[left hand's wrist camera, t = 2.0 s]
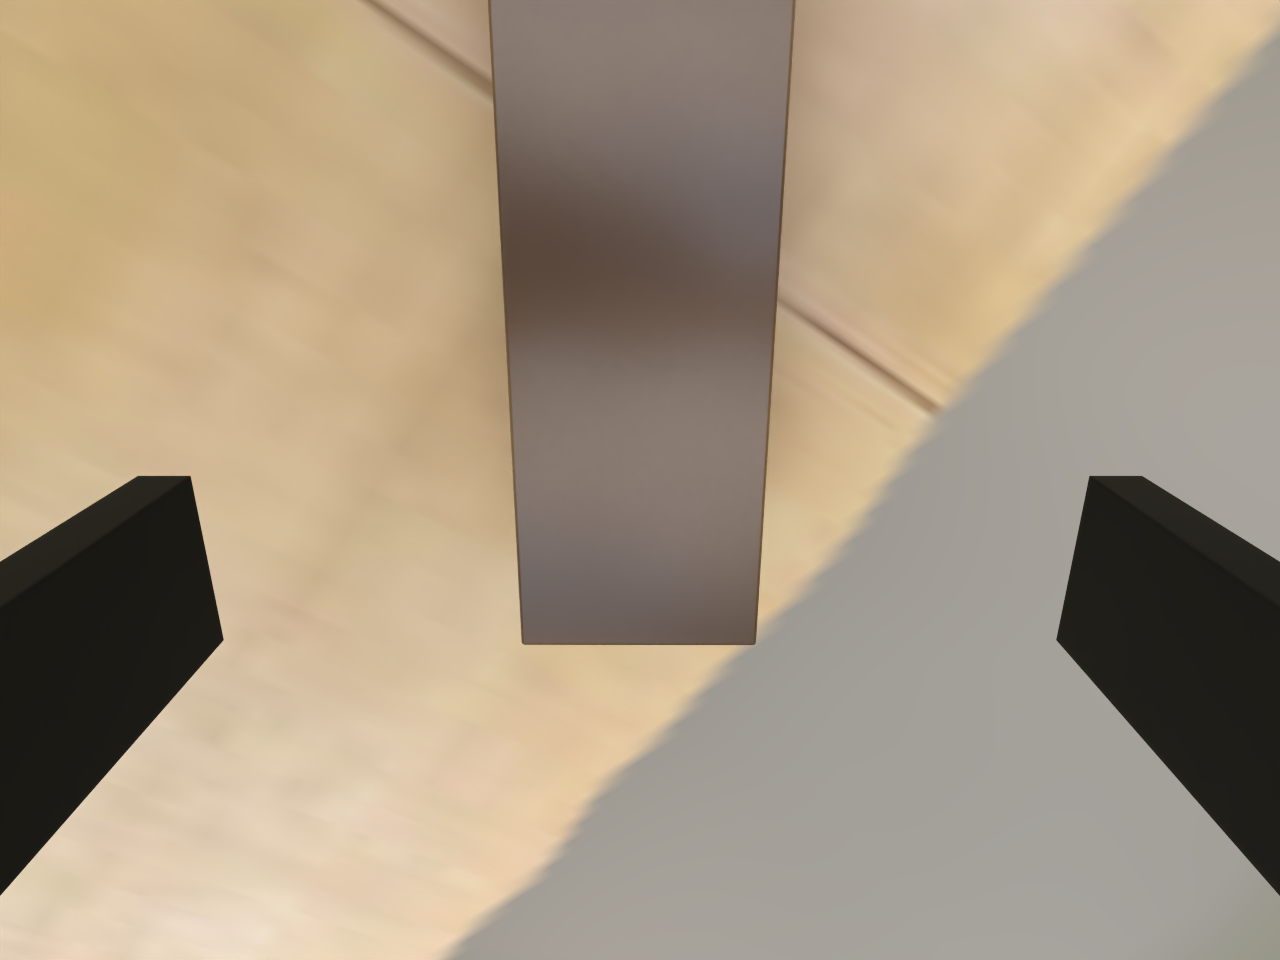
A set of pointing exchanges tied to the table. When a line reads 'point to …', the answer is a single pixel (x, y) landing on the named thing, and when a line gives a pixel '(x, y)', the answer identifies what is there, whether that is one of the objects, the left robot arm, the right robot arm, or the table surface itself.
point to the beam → (640, 307)
